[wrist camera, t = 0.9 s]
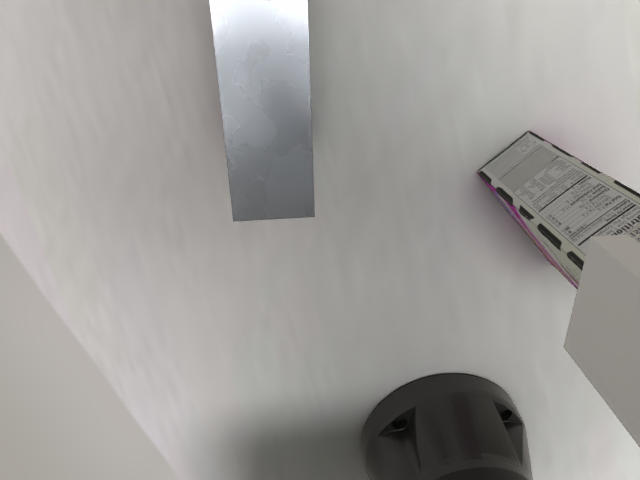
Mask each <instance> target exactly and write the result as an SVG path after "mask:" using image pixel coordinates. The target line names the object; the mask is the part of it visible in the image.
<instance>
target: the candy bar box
mask: <svg viewBox="0 0 640 480" xmlns="http://www.w3.org/2000/svg"><path fill="white" fill-rule="evenodd" d="M478 175H479V176H480V177H481V178H482V180H483V181H484V182H485V183H486V185H487V186H488V187H489V188H490V190H491V191H492V192H493V193H494V195H495V196H496V197H497V198H498V200H499V201H500V202H501V203H502V204H503V206H504V207H505V208H506V209H507V211H508V212H509V213H510V214H511V215H512V217H513V218H514V219H515V220H516V221H517V223H518V224H519V225H520V226H521V228H522V229H523V230H524V231H525V232H526V234H527V235H528V236H529V237H530V238H531V240H532V241H533V242H534V243H535V245H536V246H537V247H538V248H539V249H540V251H541V252H542V253H543V254H544V255H545V257H546V258H547V259H548V261H549V262H550V263H551V264H552V265H553V266H554V267H555V268H557V269H558V270H559V272H560V273H561V274H562V275H563V276H564V277H565V278H566V279H567V280H568V281H569V282H570V283H571V284H572V285H573V286H574V287H575V288H576V289H577V290H578V286H579V282H580V277H581V273H582V269H583V265H584V261H585V257H586V253H587V249H588V245H589V240H590V237H592V236H608V235H625V234H628V235H629V236H631V237H632V238H633V239H635V240H636V241H637V242H638V243H640V194H639V193H637V192H636V191H634V190H632V189H630V188H628V187H627V186H625V185H623V184H621V183H620V182H618V181H616V180H615V179H613V178H611V177H609V176H607V175H605V174H604V173H602V172H599V171H598V170H596V169H594V168H593V167H591V166H589V165H587V164H586V163H584V162H583V161H581V160H579V159H577V158H576V157H574V156H572V155H570V154H569V153H567V152H565V151H563V150H562V149H560V148H558V147H557V146H555V145H553V144H552V143H550V142H548V141H546V140H544V139H543V138H541V137H539V136H538V135H536V134H534V133H532V132H531V131H528V132H527V133H525V134H524V135H523V136H521V137H520V138H519V139H517V140H516V141H515V142H514V143H513V144H512V145H511V146H510V147H508V148H507V149H506V150H505V151H504V152H502V153H501V154H500V155H498V156H497V157H496V158H494V159H493V160H492V161H490V162H489V163H488V164H487V165H485V166H484V167H483V168H482V169H481V170H479V171H478Z"/></svg>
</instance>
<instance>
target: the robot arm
mask: <svg viewBox="0 0 640 480" xmlns="http://www.w3.org/2000/svg"><path fill="white" fill-rule="evenodd" d="M564 348H565V350H566V351H567V352H568V353H569V355H570V356H571V357H572V359H573V360H574V361H575V363H576V364H577V365H578V367H579V368H580V369H581V371H582V372H583V373H584V375H585V376H586V377H587V378H588V380H589V381H590V382H591V384H592V385H593V386H594V388H595V389H596V390H597V392H598V393H599V394H600V396H601V397H602V398H603V400H604V401H605V402H606V403H607V405H608V406H609V407H610V409H611V410H612V411H613V413H614V414H615V415H616V417H617V418H618V419H619V421H620V422H621V423H622V424H623V426H624V427H625V428H626V430H627V431H628V432H629V434H630V435H631V436H632V438H633V439H634V440H635V442H636V443H637V444H638V446H639V447H640V243H638V242H637V241H636V240H635V239H633V238H632V237H631V236H629V235H628V234H625V235H608V236H592V237H590V240H589V245H588V249H587V253H586V257H585V261H584V265H583V269H582V273H581V277H580V282H579V286H578V290H577V294H576V298H575V302H574V306H573V310H572V315H571V319H570V323H569V327H568V331H567V335H566V339H565V343H564ZM362 451H363V456H364V462H365V467H366V470H367V473H368V476H369V478H370V480H533V477H532V470H531V463H530V456H529V448H528V441H527V434H526V429H525V425H524V422H523V420H522V418H521V416H520V414H519V412H518V410H517V409H516V407H515V405H514V403H513V401H512V400H511V398H510V397H509V396H508V394H507V393H506V392H505V391H504V390H503V389H501V388H500V387H499V386H497V385H496V384H494V383H492V382H490V381H488V380H485V379H483V378H479V377H476V376H471V375H464V374H445V375H437V376H432V377H427V378H424V379H420V380H418V381H415V382H412V383H410V384H408V385H406V386H404V387H402V388H400V389H398V390H397V391H395V392H393V393H392V394H391V395H389V396H388V397H387V398H386V399H384V400H383V401H382V402H381V403H380V404H379V405H378V406H377V407H376V408H375V410H374V411H373V412H372V414H371V415H370V417H369V418H368V420H367V422H366V424H365V427H364V430H363V434H362Z"/></svg>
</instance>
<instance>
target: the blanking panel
mask: <svg viewBox="0 0 640 480" xmlns="http://www.w3.org/2000/svg"><path fill="white" fill-rule="evenodd" d="M209 2H210V11H211V21H212V30H213V39H214V48H215V57H216V66H217V75H218V85H219V94H220V103H221V112H222V121H223V130H224V139H225V148H226V158H227V167H228V176H229V185H230V194H231V203H232V212H233V221H249V220H267V219H285V218H302V217H315V213H314V182H313V151H312V120H311V90H310V59H309V28H308V0H209Z"/></svg>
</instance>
